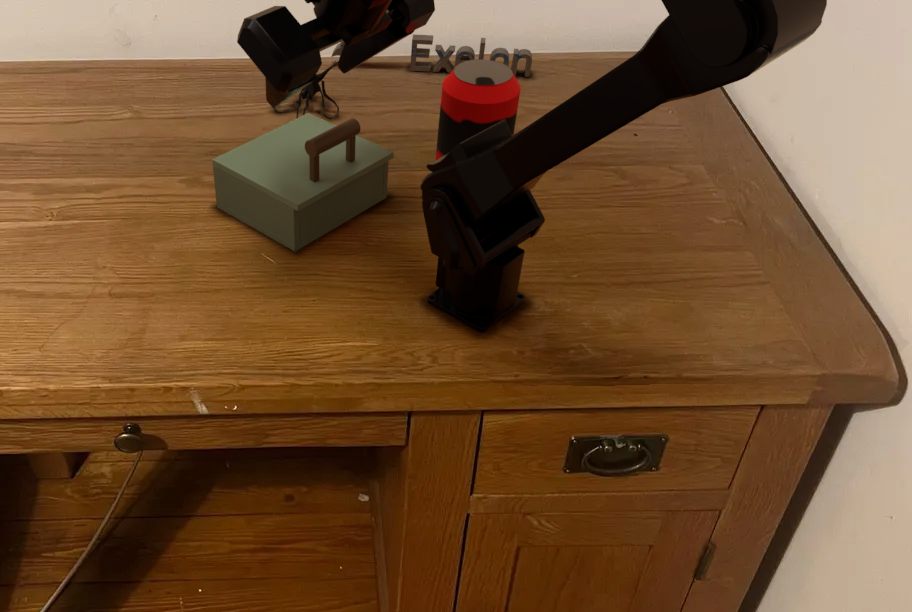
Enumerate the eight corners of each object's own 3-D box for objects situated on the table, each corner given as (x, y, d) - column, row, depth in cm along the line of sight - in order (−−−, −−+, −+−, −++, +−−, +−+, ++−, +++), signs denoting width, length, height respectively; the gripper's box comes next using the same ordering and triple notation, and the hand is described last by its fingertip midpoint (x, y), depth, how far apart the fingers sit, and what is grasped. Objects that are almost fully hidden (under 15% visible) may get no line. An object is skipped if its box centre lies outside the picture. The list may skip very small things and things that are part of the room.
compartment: (386, 197, 95) (389, 156, 91) (294, 251, 88) (293, 209, 85) (308, 159, 100) (308, 119, 97) (216, 207, 94) (212, 166, 90)
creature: (333, 134, 106) (348, 90, 111) (331, 96, 102) (347, 52, 106) (269, 127, 108) (286, 84, 112) (264, 89, 103) (282, 45, 108)
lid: (393, 158, 91) (396, 112, 88) (298, 211, 84) (297, 163, 81) (308, 118, 97) (307, 74, 94) (212, 165, 90) (208, 119, 87)
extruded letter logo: (331, 66, 117) (331, 21, 113) (332, 61, 118) (333, 16, 114) (529, 77, 114) (536, 32, 110) (529, 71, 115) (536, 26, 111)
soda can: (435, 201, 94) (446, 89, 86) (431, 163, 99) (440, 55, 91) (509, 201, 94) (527, 89, 85) (501, 164, 99) (517, 55, 91)
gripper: (390, -150, 76) (323, -10, 89) (221, -94, 67) (175, 53, 80) (475, -50, 75) (394, 77, 89) (316, 21, 66) (253, 149, 80)
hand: (307, 86), depth 84 cm, fingers open, 9 cm apart
